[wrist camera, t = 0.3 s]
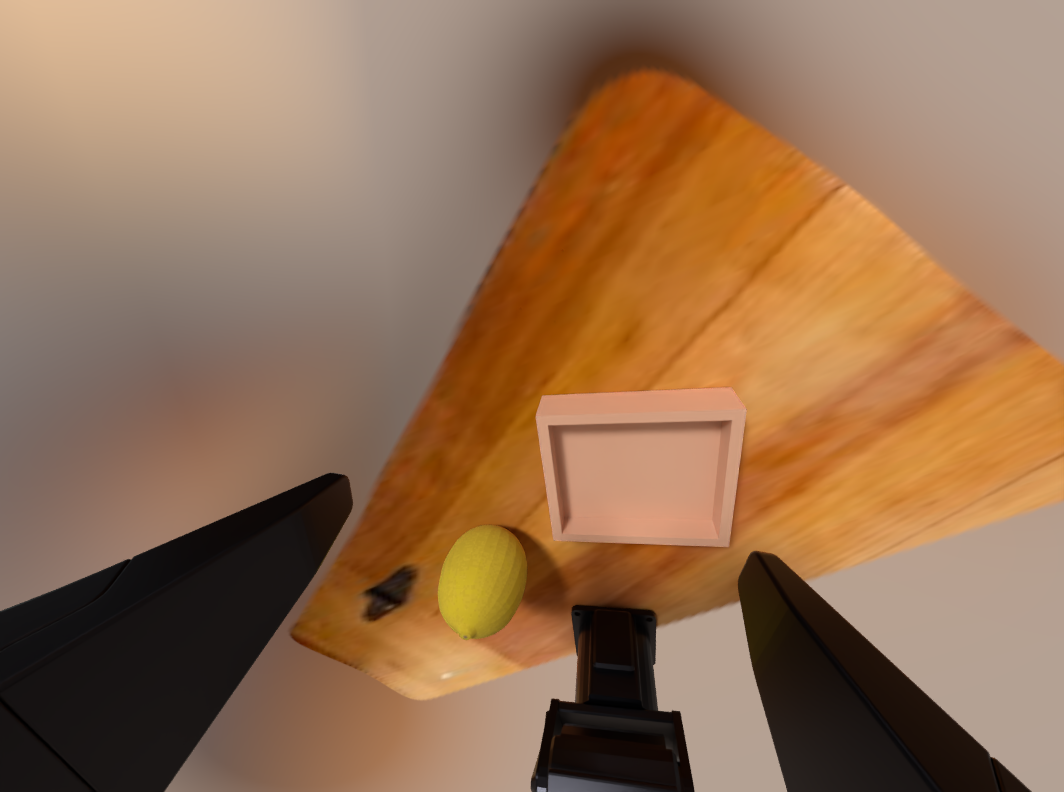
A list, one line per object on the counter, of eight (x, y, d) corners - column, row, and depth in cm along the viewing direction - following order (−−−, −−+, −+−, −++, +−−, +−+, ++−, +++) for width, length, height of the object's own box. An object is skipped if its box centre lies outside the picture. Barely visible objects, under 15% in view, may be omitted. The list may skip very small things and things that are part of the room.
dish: (717, 516, 24) (728, 546, 22) (557, 512, 26) (553, 540, 24) (731, 387, 20) (746, 409, 18) (542, 395, 22) (535, 416, 20)
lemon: (511, 566, 30) (483, 678, 23) (451, 531, 29) (403, 634, 22) (550, 527, 27) (531, 640, 20) (485, 488, 27) (443, 590, 19)
